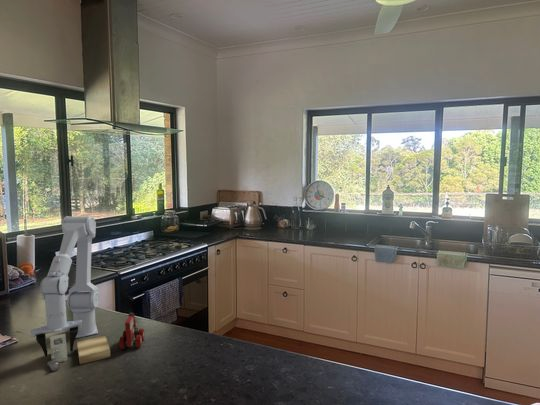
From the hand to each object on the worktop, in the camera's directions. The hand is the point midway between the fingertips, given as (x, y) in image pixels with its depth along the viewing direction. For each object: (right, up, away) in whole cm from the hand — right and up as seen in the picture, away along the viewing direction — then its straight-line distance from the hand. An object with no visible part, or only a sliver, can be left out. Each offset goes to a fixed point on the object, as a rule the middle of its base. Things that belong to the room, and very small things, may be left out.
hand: (59, 352), depth 126 cm
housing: (0, -2, 0) cm, 2 cm away
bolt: (+2, -2, -7) cm, 7 cm away
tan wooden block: (+10, -1, +3) cm, 11 cm away
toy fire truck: (+21, -1, +9) cm, 23 cm away
